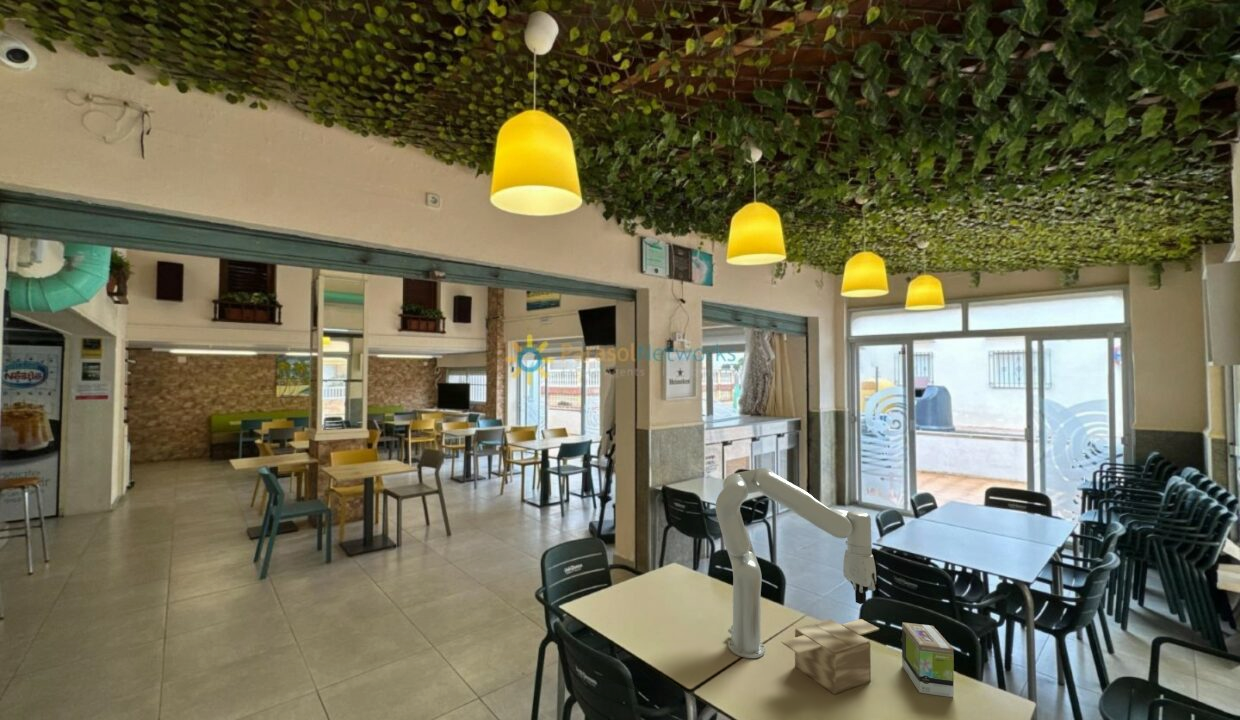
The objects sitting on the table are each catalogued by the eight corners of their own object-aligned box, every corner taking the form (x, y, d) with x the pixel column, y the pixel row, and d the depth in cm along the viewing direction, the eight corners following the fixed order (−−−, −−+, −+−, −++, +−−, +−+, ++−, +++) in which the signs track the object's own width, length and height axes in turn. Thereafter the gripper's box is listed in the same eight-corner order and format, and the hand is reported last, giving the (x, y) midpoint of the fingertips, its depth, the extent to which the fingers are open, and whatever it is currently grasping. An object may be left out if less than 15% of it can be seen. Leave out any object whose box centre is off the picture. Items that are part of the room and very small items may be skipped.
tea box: (955, 698, 148) (954, 648, 148) (918, 693, 150) (918, 644, 150) (934, 669, 163) (933, 624, 163) (900, 665, 165) (900, 620, 165)
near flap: (851, 648, 153) (851, 646, 153) (808, 661, 145) (808, 659, 145) (813, 625, 167) (813, 623, 167) (772, 636, 159) (772, 634, 159)
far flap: (813, 625, 167) (813, 623, 167) (850, 615, 174) (850, 613, 174) (852, 648, 153) (852, 646, 153) (890, 635, 160) (890, 634, 160)
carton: (795, 666, 163) (795, 629, 164) (829, 655, 170) (829, 620, 170) (834, 694, 149) (834, 654, 149) (870, 681, 155) (870, 643, 156)
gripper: (833, 543, 174) (835, 596, 173) (871, 557, 160) (872, 614, 160) (848, 540, 177) (850, 592, 176) (886, 553, 164) (888, 609, 163)
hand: (860, 602), depth 168 cm, fingers closed
